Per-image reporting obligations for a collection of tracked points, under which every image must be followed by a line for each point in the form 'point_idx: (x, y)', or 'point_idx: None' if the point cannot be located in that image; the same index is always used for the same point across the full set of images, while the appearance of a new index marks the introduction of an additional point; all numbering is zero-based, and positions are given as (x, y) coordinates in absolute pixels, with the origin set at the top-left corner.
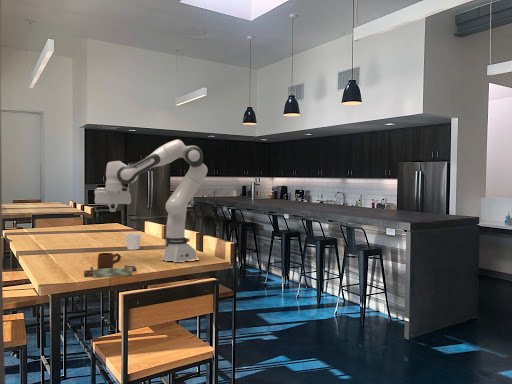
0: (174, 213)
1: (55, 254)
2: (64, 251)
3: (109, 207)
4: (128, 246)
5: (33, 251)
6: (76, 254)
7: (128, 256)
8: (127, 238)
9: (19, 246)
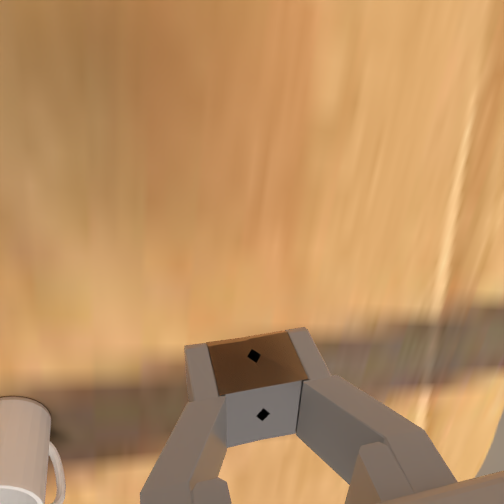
0: None
1: (417, 302)
2: (366, 362)
3: (364, 408)
4: (40, 420)
5: (472, 362)
6: (332, 297)
7: (27, 213)
8: (42, 472)
9: (481, 438)
